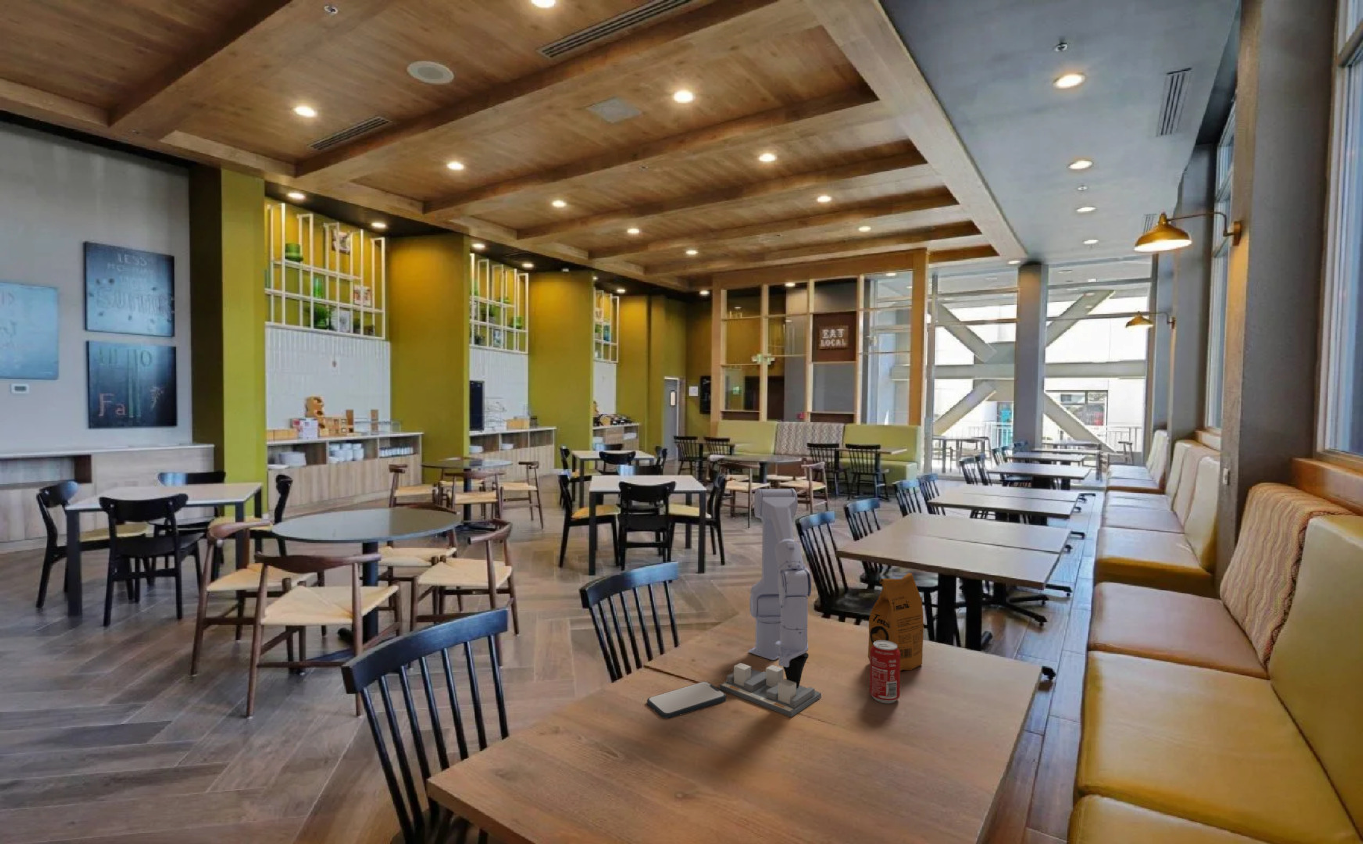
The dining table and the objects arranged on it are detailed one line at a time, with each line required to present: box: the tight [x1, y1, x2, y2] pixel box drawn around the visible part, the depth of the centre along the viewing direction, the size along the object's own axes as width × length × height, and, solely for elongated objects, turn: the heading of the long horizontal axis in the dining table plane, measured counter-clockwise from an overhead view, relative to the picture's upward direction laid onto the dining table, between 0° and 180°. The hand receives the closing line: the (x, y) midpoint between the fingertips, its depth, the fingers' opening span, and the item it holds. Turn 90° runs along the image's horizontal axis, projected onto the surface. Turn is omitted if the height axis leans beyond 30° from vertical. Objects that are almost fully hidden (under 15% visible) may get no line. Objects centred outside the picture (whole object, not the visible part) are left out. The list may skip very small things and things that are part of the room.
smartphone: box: [646, 681, 727, 719], centre depth 140 cm, size 9×2×16 cm
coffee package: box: [867, 572, 924, 672], centre depth 160 cm, size 10×12×22 cm
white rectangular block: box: [765, 664, 784, 687], centre depth 146 cm, size 2×3×4 cm
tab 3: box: [778, 678, 796, 705], centre depth 138 cm, size 2×3×4 cm
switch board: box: [718, 666, 822, 718], centre depth 144 cm, size 12×19×2 cm, turn 48°
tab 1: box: [733, 662, 752, 687], centre depth 147 cm, size 2×3×4 cm
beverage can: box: [869, 640, 901, 704], centre depth 142 cm, size 6×6×12 cm
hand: (793, 687), depth 140 cm, fingers closed
